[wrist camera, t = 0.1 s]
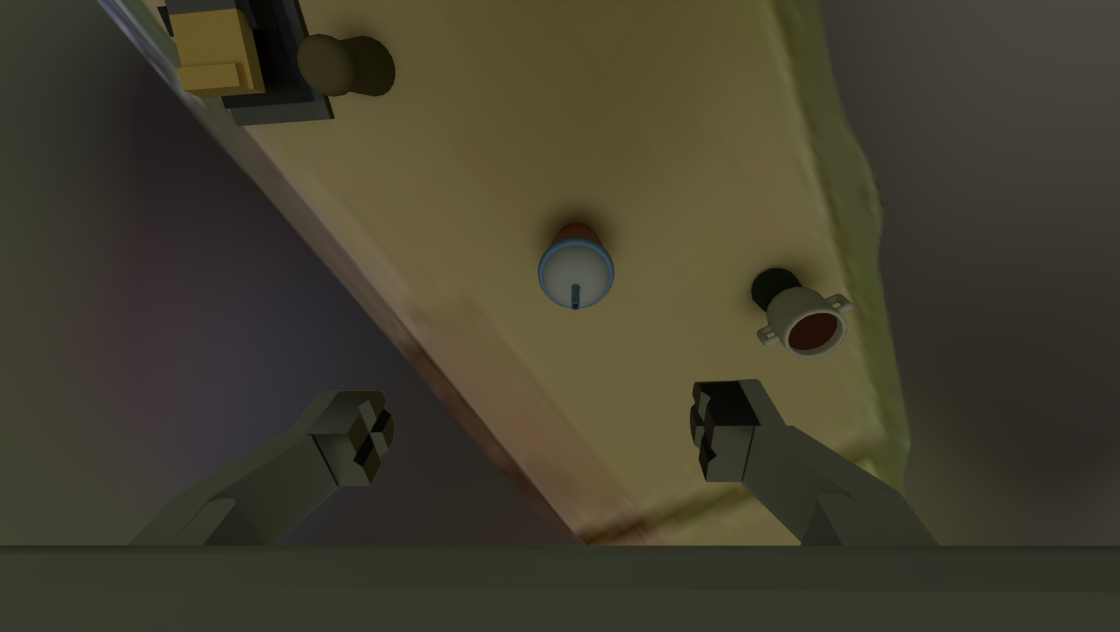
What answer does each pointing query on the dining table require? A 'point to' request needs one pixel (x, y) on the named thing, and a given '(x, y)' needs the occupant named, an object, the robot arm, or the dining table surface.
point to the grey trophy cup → (799, 315)
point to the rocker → (215, 48)
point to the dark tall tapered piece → (346, 65)
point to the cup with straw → (576, 268)
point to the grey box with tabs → (275, 67)
